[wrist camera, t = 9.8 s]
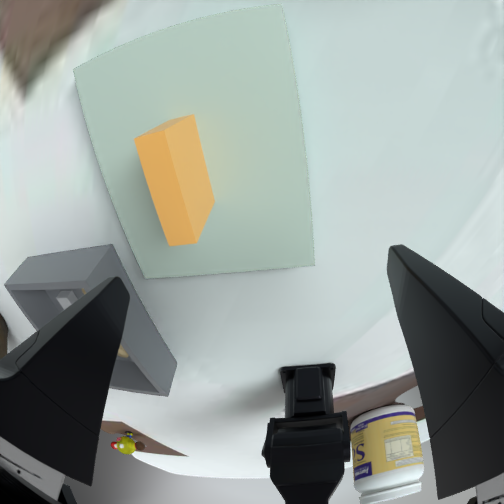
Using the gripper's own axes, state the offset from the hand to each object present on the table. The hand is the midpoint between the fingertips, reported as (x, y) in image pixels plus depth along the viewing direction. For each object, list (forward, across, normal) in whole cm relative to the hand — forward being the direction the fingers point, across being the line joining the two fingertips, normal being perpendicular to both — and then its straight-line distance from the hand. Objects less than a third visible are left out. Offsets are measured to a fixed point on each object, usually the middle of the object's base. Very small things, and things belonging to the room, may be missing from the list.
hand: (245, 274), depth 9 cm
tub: (+12, +22, +13) cm, 28 cm away
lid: (+12, +4, -1) cm, 13 cm away
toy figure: (+12, +46, +60) cm, 76 cm away
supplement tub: (+12, -14, +46) cm, 50 cm away
